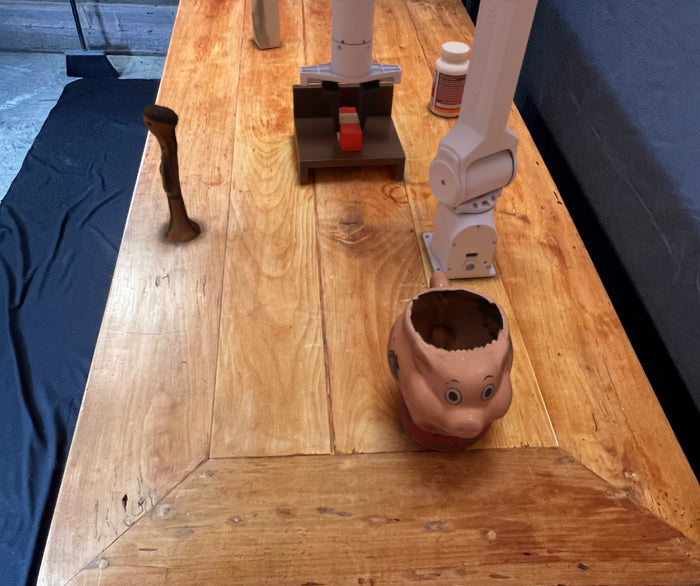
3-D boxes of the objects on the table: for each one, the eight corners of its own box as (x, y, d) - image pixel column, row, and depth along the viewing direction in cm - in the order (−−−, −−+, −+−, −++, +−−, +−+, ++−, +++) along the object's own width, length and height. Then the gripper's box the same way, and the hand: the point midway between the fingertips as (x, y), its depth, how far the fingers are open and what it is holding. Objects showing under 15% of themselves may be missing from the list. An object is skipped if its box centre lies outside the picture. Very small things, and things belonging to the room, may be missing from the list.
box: (252, 40, 130) (247, -29, 121) (272, 37, 132) (269, -31, 122) (261, 50, 127) (256, -20, 118) (281, 47, 129) (278, -23, 119)
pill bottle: (470, 113, 113) (482, 50, 104) (443, 121, 110) (453, 57, 102) (448, 99, 116) (458, 37, 108) (422, 106, 114) (430, 44, 105)
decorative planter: (365, 342, 74) (372, 248, 63) (464, 332, 75) (487, 239, 65) (403, 491, 60) (420, 403, 50) (522, 475, 62) (563, 387, 52)
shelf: (403, 180, 97) (409, 126, 90) (300, 184, 95) (298, 129, 89) (388, 134, 106) (392, 82, 100) (294, 137, 105) (292, 84, 98)
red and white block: (361, 151, 95) (362, 132, 92) (341, 152, 94) (341, 133, 92) (353, 121, 101) (354, 103, 99) (334, 122, 100) (334, 103, 98)
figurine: (166, 214, 89) (140, 90, 76) (202, 213, 89) (182, 90, 76) (162, 247, 84) (132, 120, 71) (200, 245, 84) (177, 119, 71)
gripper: (398, 24, 89) (390, 114, 100) (297, 25, 88) (299, 117, 98) (408, 45, 85) (398, 137, 95) (301, 46, 83) (302, 140, 93)
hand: (348, 128), depth 96 cm, fingers closed on red and white block, 3 cm apart
